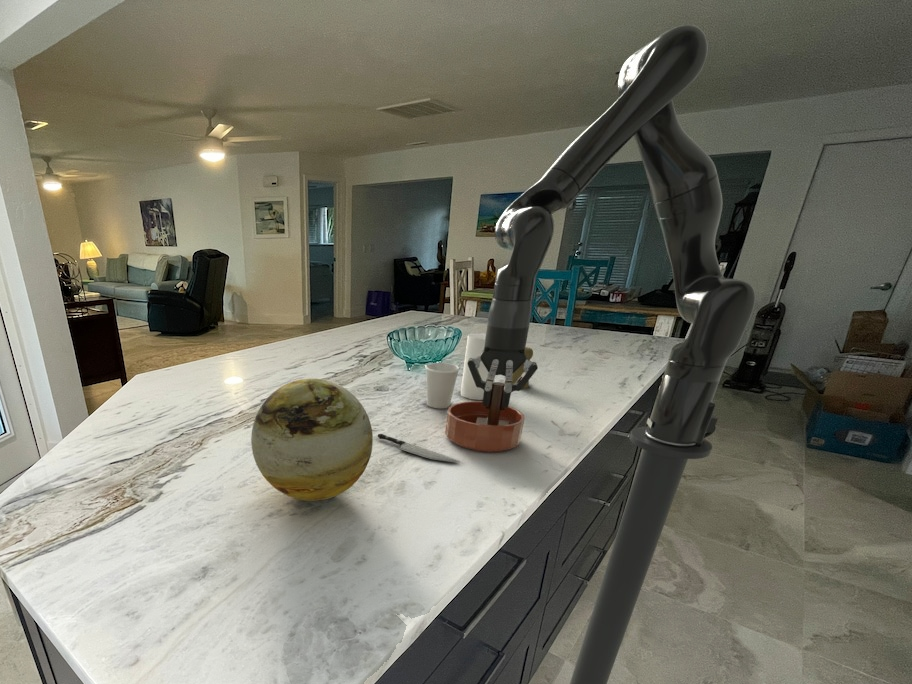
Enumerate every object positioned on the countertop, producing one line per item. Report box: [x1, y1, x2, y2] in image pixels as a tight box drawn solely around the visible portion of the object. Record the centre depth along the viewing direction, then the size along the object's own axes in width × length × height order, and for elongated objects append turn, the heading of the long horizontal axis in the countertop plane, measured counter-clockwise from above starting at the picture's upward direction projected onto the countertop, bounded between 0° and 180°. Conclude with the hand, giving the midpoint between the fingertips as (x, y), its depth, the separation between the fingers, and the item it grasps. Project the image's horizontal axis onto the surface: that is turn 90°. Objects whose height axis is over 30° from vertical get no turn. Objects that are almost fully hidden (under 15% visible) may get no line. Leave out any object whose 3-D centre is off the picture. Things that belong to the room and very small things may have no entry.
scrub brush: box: [476, 381, 509, 426], centre depth 97 cm, size 6×4×12 cm
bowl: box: [444, 400, 525, 453], centre depth 99 cm, size 15×15×6 cm
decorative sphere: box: [250, 378, 374, 502], centre depth 77 cm, size 20×20×20 cm
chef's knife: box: [377, 433, 461, 463], centre depth 95 cm, size 19×1×3 cm
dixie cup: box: [424, 362, 460, 409], centre depth 119 cm, size 8×8×10 cm
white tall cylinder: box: [460, 332, 496, 401], centre depth 124 cm, size 8×8×16 cm
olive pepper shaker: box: [512, 346, 534, 389], centre depth 133 cm, size 6×6×11 cm
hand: (494, 407), depth 97 cm, fingers closed on scrub brush, 2 cm apart
